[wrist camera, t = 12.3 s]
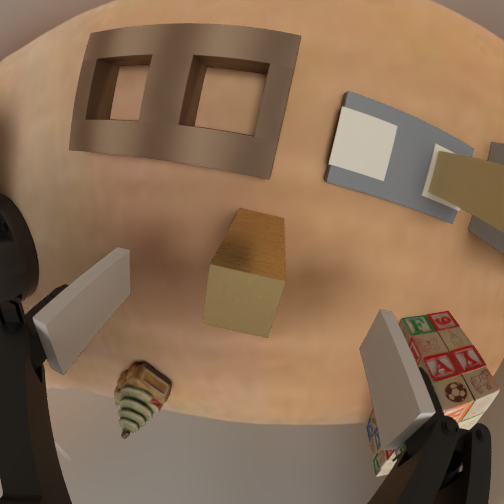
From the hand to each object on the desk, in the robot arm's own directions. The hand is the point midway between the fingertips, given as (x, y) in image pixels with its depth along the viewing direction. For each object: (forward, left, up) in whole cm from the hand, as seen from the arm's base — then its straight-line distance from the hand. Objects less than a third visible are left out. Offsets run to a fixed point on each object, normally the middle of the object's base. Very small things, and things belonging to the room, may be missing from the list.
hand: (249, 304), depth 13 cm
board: (+10, +9, -10) cm, 16 cm away
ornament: (-10, -23, -10) cm, 27 cm away
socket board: (-8, +10, -10) cm, 16 cm away
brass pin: (0, 0, -10) cm, 10 cm away
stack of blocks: (+21, -14, -10) cm, 28 cm away
